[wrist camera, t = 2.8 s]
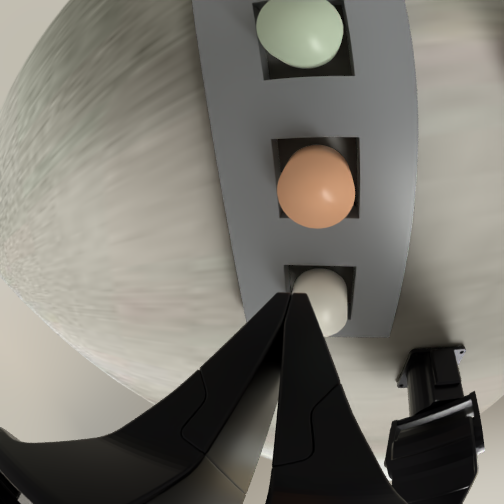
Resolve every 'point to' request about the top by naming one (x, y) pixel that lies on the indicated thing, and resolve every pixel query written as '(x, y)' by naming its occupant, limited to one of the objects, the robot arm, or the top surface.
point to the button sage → (300, 31)
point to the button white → (325, 298)
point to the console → (315, 125)
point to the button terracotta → (316, 187)
